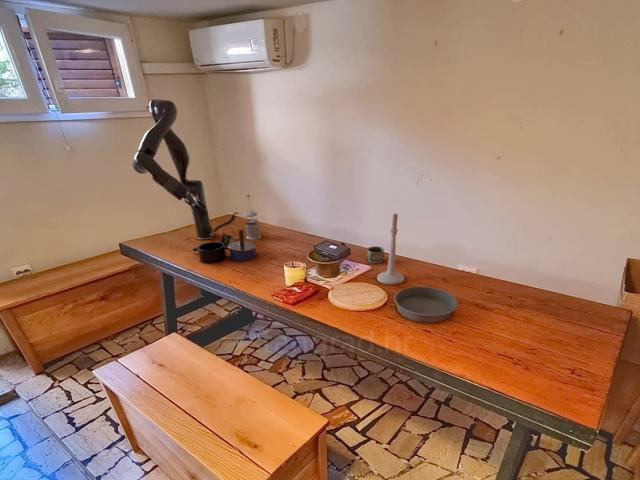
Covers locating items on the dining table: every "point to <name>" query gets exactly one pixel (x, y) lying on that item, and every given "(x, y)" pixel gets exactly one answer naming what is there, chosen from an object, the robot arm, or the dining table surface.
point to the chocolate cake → (226, 239)
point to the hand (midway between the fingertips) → (205, 210)
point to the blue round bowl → (242, 255)
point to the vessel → (375, 254)
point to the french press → (252, 225)
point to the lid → (241, 243)
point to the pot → (212, 252)
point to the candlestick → (391, 260)
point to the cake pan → (425, 304)
